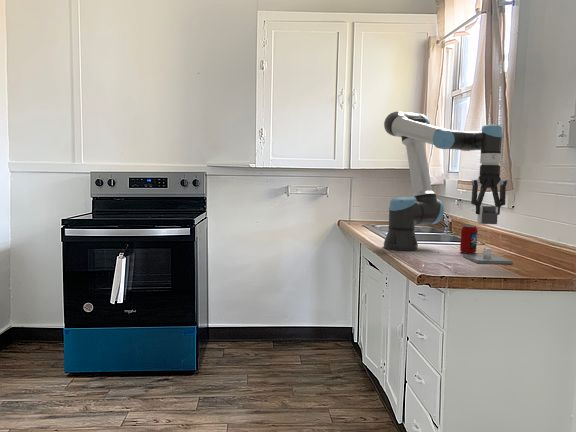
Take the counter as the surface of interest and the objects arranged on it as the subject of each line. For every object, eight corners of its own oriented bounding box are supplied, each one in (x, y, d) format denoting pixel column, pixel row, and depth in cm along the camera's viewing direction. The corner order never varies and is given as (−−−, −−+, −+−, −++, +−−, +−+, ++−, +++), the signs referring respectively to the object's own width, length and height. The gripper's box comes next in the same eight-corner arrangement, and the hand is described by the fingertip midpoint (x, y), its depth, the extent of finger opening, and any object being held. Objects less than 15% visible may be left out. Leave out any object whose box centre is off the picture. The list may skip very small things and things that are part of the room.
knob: (478, 222, 203) (478, 205, 203) (491, 223, 204) (492, 205, 203) (483, 224, 198) (484, 205, 198) (497, 224, 198) (497, 205, 198)
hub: (463, 257, 210) (463, 245, 209) (495, 257, 210) (496, 245, 210) (477, 263, 196) (478, 250, 195) (512, 264, 196) (513, 251, 196)
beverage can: (476, 254, 218) (478, 226, 217) (459, 253, 220) (461, 225, 219) (475, 252, 224) (477, 225, 223) (459, 250, 226) (461, 224, 225)
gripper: (470, 163, 195) (467, 223, 197) (517, 164, 196) (514, 224, 198) (463, 164, 203) (460, 221, 205) (508, 165, 203) (505, 222, 205)
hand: (487, 222), depth 201 cm, fingers closed on knob, 5 cm apart
